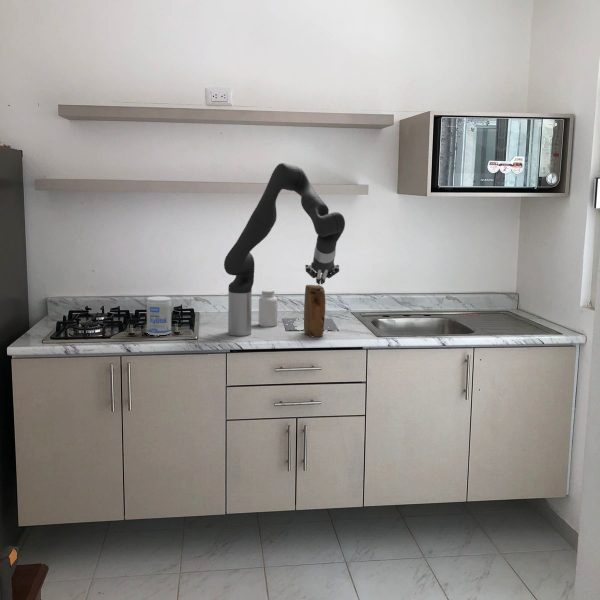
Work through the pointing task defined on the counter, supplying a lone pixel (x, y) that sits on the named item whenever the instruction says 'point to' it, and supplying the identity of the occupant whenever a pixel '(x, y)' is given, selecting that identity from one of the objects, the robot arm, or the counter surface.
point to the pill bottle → (268, 309)
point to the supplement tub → (158, 315)
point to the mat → (327, 321)
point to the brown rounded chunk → (314, 310)
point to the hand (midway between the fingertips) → (320, 282)
